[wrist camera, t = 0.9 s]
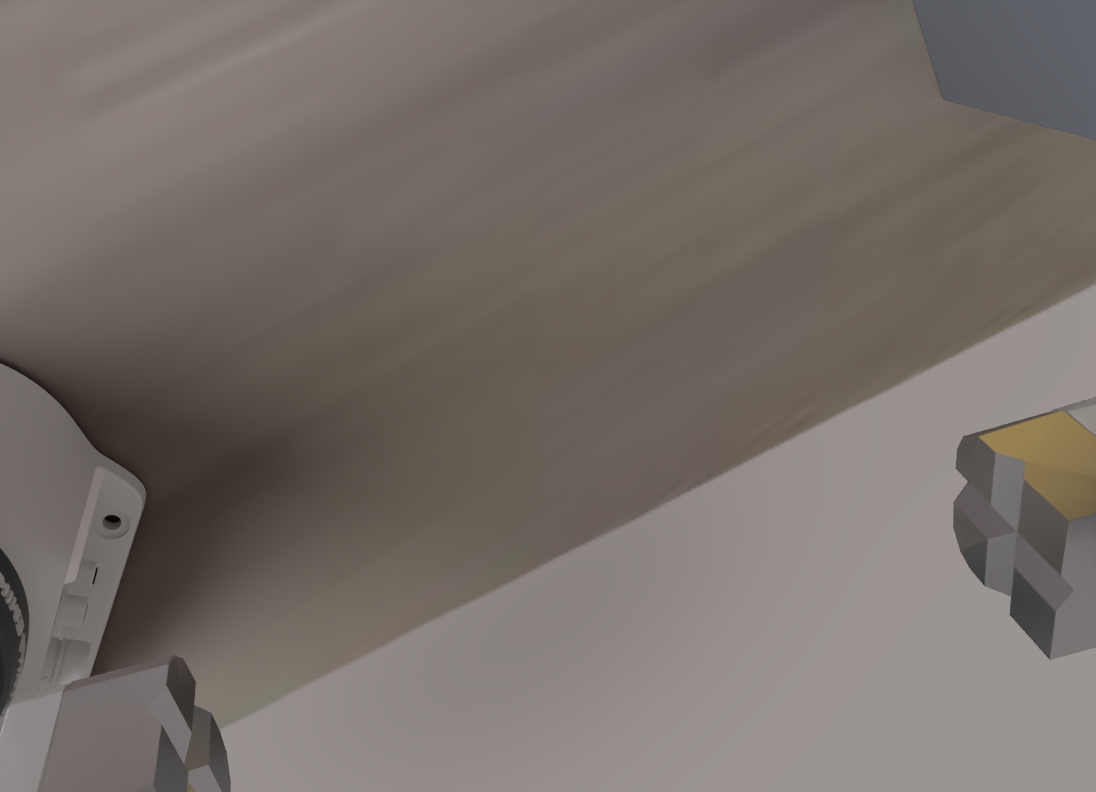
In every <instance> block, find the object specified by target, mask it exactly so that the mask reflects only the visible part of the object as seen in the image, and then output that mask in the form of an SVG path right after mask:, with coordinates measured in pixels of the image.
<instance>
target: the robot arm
mask: <svg viewBox="0 0 1096 792" xmlns="http://www.w3.org/2000/svg"><path fill="white" fill-rule="evenodd" d="M956 469H957V470H958V471H959V472H960V473H961V474H962V475H963V477H964V478H966V480H967V481H968V482H967V484H966V485H965V487H964V488H963V490H962V491H961V492H960V494H959V495H958V497H957V498H956V500H955V501H954V519H953V520H954V521H953V528H954V531H955V534H956V538H957V541H958V544H959V548H960V552H961V553H962V555H963V557H964V559H965V560H966V562H967V564H968V566H969V568H970V569H971V570H972V572H973V573H974V574H975V575H976V576H977V578H978V579H979V580H980V581H981V582H982V583H983V585H984V586H986V587H989V588H991V589H994V590H996V591H999V592H1002V593H1004V594H1007V595H1009V596H1011V604H1010V615H1011V617H1012V618H1013V619H1014V620H1015V621H1016V622H1017V624H1018V625H1019V626H1020V627H1021V628H1022V629H1023V630H1024V631H1025V633H1027V635H1028V636H1029V637H1030V638H1031V639H1032V640H1033V642H1035V644H1036V645H1037V646H1038V647H1039V648H1040V649H1041V650H1042V652H1043V653H1044V654H1045V655H1046V656H1047V657H1048V658H1049V660H1051V659H1055V658H1059V657H1062V656H1066V655H1069V654H1073V653H1077V652H1080V651H1084V650H1088V649H1091V648H1095V647H1096V397H1094V398H1091V399H1088V400H1084V401H1081V402H1078V403H1074V404H1071V405H1067V406H1064V407H1061V408H1058V409H1054V410H1052V411H1051V412H1048V413H1044V414H1040V415H1037V416H1033V417H1030V418H1026V419H1023V420H1019V421H1015V422H1012V423H1008V424H1005V425H1002V426H998V427H995V428H991V429H987V430H984V431H980V432H977V433H973V434H970V435H967V436H963V438H962V440H961V442H960V444H959V447H958V449H957V459H956ZM145 502H146V490H145V488H144V486H143V484H142V483H141V482H140V480H139V479H138V478H136V477H135V476H134V475H133V474H132V473H130V472H129V471H127V470H126V469H125V468H123V467H122V466H120V465H118V464H117V463H115V462H114V461H112V460H110V459H109V458H107V457H105V456H104V455H102V454H100V453H99V452H98V451H97V450H96V449H95V448H94V447H93V446H92V445H91V443H90V442H89V441H88V440H87V438H86V437H85V436H84V434H83V433H82V431H81V430H80V428H79V427H78V426H77V424H76V423H75V421H74V420H73V419H72V417H71V416H70V415H69V414H68V412H67V411H66V410H65V409H64V408H63V407H62V406H61V405H60V404H59V403H58V402H57V401H56V400H55V399H54V398H53V397H52V396H51V395H50V394H49V393H47V392H46V391H45V390H44V389H43V388H41V387H40V386H39V385H37V384H36V383H34V382H33V381H32V380H30V379H29V378H27V377H25V376H24V375H22V374H20V373H19V372H17V371H15V370H13V369H11V368H9V367H7V366H5V365H3V364H1V363H0V792H230V786H231V785H230V783H231V781H230V775H229V767H228V760H227V753H226V749H225V746H224V743H223V740H222V737H221V733H220V730H219V728H218V726H217V724H216V722H215V720H214V718H213V716H212V714H211V713H210V712H208V711H206V710H204V709H202V708H199V707H197V706H195V705H194V699H195V685H196V681H195V680H194V678H193V676H192V674H191V672H190V670H189V669H188V667H187V665H186V663H185V661H184V660H183V658H180V657H177V656H175V655H173V656H169V657H166V658H162V659H158V660H154V661H150V662H146V663H142V664H138V665H134V666H130V667H126V668H122V669H118V670H114V671H110V672H106V673H103V674H99V675H95V676H91V677H90V675H91V672H92V669H93V666H94V663H95V659H96V656H97V653H98V650H99V647H100V644H101V641H102V637H103V634H104V631H105V628H106V625H107V622H108V619H109V615H110V612H111V609H112V606H113V603H114V600H115V597H116V593H117V590H118V587H119V584H120V581H121V578H122V575H123V571H124V568H125V565H126V562H127V559H128V556H129V553H130V549H131V546H132V543H133V540H134V537H135V534H136V531H137V528H138V524H139V521H140V518H141V515H142V512H143V509H144V505H145ZM108 515H116V516H118V517H119V518H120V519H121V520H120V521H119V522H116V523H112V522H109V521H107V520H106V519H105V517H106V516H108Z"/></svg>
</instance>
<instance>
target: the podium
mask: <svg viewBox="0 0 1096 792" xmlns="http://www.w3.org/2000/svg"><path fill="white" fill-rule="evenodd" d="M913 2H914V5H915V9H916V12H917V15H918V18H919V22H920V25H921V28H922V31H923V35H924V38H925V41H926V44H927V48H928V51H929V54H930V57H931V61H932V64H933V67H934V70H935V74H936V77H937V80H938V83H939V87H940V90H941V93H942V96H943V99H944V100H947V101H951V102H955V103H959V104H962V105H966V106H970V107H974V108H977V109H981V110H985V111H989V112H992V113H996V114H1000V115H1004V116H1007V117H1011V118H1015V119H1019V120H1022V121H1026V122H1030V123H1034V124H1037V125H1041V126H1045V127H1049V128H1053V129H1056V130H1060V131H1064V132H1068V133H1071V134H1075V135H1079V136H1083V137H1086V138H1090V139H1094V140H1096V0H913Z"/></svg>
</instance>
